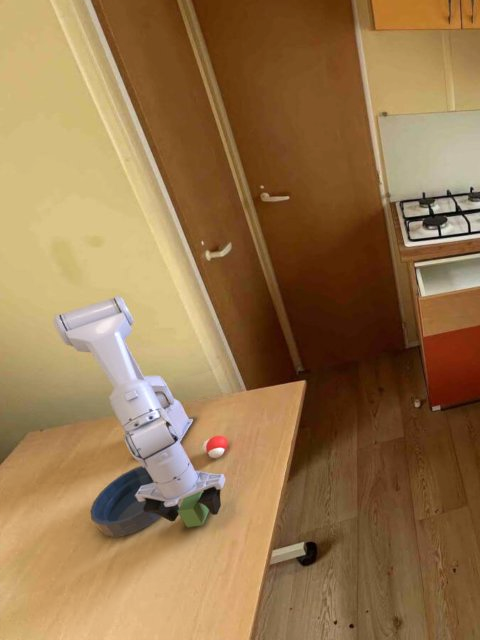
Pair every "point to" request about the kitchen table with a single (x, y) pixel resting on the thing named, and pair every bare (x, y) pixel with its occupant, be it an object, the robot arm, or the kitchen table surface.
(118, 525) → the bowl
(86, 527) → the kitchen table surface
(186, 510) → the green block
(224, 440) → the molecule
